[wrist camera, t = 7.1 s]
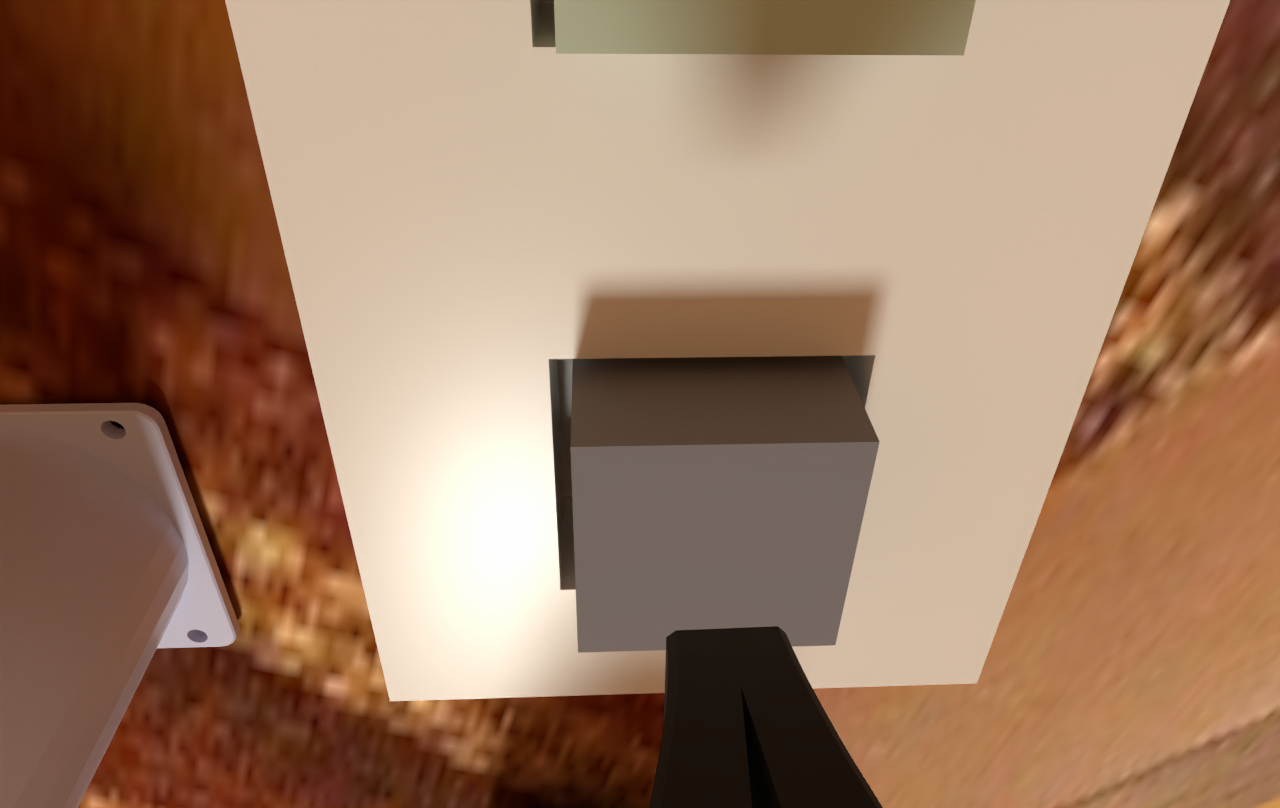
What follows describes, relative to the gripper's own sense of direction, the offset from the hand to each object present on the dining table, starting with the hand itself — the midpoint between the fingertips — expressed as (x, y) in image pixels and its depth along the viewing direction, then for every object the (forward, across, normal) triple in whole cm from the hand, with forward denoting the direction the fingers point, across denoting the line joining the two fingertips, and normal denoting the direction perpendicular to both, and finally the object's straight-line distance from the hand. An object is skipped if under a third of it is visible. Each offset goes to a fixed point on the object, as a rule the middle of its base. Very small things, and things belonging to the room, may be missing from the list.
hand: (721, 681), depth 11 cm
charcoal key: (+7, -1, +2) cm, 8 cm away
